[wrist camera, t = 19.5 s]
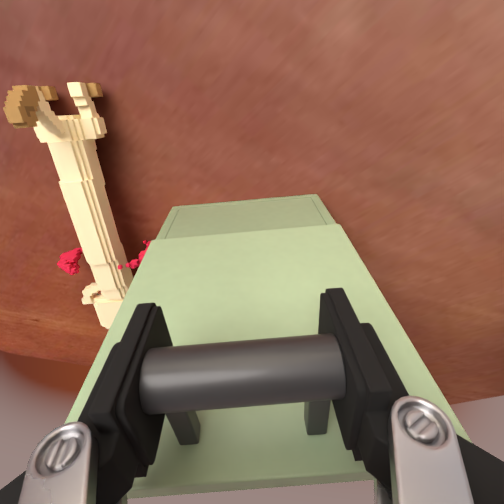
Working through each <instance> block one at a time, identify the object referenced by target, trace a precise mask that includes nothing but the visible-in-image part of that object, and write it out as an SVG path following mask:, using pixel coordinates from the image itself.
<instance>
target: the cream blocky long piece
mask: <svg viewBox="0 0 504 504" xmlns="http://www.w3.org/2000/svg"><path fill="white" fill-rule="evenodd" d="M67 85H68V89H69V92H70V95H71V98H73V99H74V102H75V105H76V106H78V109H79V112H80V115H63V116H55V113H54V111H51V108H50V105H49V102H46V101H53V100H59V99H58V96H57V92H56V89H55V87H52V86H41V87H39V86H30V85H21V86H12V88H13V90H14V91H7V92H8V95H9V96H6V98H7V102H5V105H6V107H3V109H4V112H5V114H6V117H7V119H8V122H9V123H13V126H14V128H26V127H34V130H35V132H36V135H37V138H39V140H40V142H47V143H48V146H49V149H50V152H51V155H52V158H53V160H54V163H55V166H56V169H57V172H58V175H59V178H60V182H59V184H60V187H61V190H62V193H63V196H64V199H65V201H66V204H67V207H68V210H69V213H70V216H71V219H72V221H73V224H74V227H75V230H76V233H77V236H78V238H79V241H80V244H81V248H75V249H73V250H72V251H68V252H64V253H63V254H62V255H61V256H59V257H60V259H61V260H60V261H59V262H58V263H57V265H58V266H59V267H61V269H62V270H65V271H66V273H69V274H70V275H74V274H75V273H78V272H79V268H80V266H79V265H78V264H77V263H78V260H79V259H80V257H81V255H80V254H82V252H83V253H84V255H85V258H86V261H87V263H89V264H90V267H91V270H92V272H93V275H94V278H95V281H96V283H91V284H90V285H89V286H86V287H85V288H84V290H83V291H82V293H83V296H84V297H83V298H82V299H81V300H82V303H83V304H94V307H95V310H96V312H97V315H98V318H99V321H100V323H101V325H102V326H103V327H106V329H110V327H111V325H112V323H113V321H114V318H115V316H116V314H117V312H118V310H119V308H120V306H121V304H122V302H123V300H124V297H125V295H126V293H127V291H128V289H129V287H130V285H131V283H132V281H133V275H132V272H131V268H135V267H139V266H140V264H141V262H142V259H143V257H144V255H145V253H146V251H147V249H148V247H149V245H150V243H151V241H148V242H147V240H144V241H143V244H146V243H147V244H146V247H147V248H146V249H145V251H141V252H140V254H139V259H135V260H132V261H131V262H130V263H128V262H127V259H126V255H125V252H124V248H123V245H122V243H120V239H119V236H118V232H117V229H116V225H115V222H114V218H113V215H112V211H111V208H110V204H109V201H108V197H107V194H106V190H105V187H104V185H106V184H105V181H104V177H103V174H102V170H101V167H100V163H99V160H98V156H97V153H96V149H97V147H96V143H95V139H98V138H103V137H105V136H104V134H105V133H107V130H106V126H105V122H104V119H103V117H101V118H100V117H99V114H97V112H96V109H95V105H94V101H92V100H91V98H98V97H103V94H102V90H101V86H100V84H98V83H81V82H74V83H67ZM130 266H131V268H129V267H130ZM99 290H101V293H102V294H98V293H97V292H98V291H99Z"/></svg>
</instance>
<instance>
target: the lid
mask: <svg viewBox="0 0 504 504" xmlns="http://www.w3.org/2000/svg"><path fill="white" fill-rule="evenodd" d="M341 287H342V288H343V289H344V291H345V293H346V295H347V297H348V299H349V301H350V303H351V305H352V307H353V310H354V312H355V314H356V316H357V318H358V320H359V322H360V323H370V324H371V325H372V326H373V328H374V330H375V332H376V333H377V335H378V337H379V339H380V341H381V343H382V345H383V347H384V349H385V350H386V352H387V354H388V356H389V358H390V360H391V362H392V364H393V366H394V367H395V369H396V371H397V373H398V375H399V377H400V379H401V381H402V382H403V384H404V386H405V388H406V390H407V392H408V394H409V396H418V397H421V398H424V399H427V400H429V401H430V402H432V403H434V404H435V405H437V406H438V407H439V408H440V409H441V410H443V411H444V412H445V413H446V415H447V416H448V417H449V419H450V420H451V422H452V424H453V426H454V429H455V432H456V434H457V435H459V436H461V437H463V438H464V439H466V440H468V441H469V442H471V440H470V439H469V437H468V435H467V434H466V432H465V430H464V429H463V427H462V425H461V424H460V422H459V420H458V419H457V417H456V415H455V414H454V412H453V410H452V409H451V407H450V405H449V404H448V402H447V400H446V399H445V397H444V396H443V394H442V392H441V391H440V389H439V387H438V386H437V384H436V382H435V381H434V379H433V377H432V376H431V374H430V372H429V371H428V369H427V367H426V366H425V364H424V362H423V361H422V359H421V357H420V356H419V354H418V353H417V351H416V349H415V348H414V346H413V344H412V343H411V341H410V339H409V338H408V336H407V334H406V333H405V331H404V329H403V328H402V326H401V324H400V323H399V321H398V319H397V318H396V316H395V314H394V313H393V311H392V310H391V308H390V306H389V305H388V303H387V301H386V300H385V298H384V296H383V295H382V293H381V291H380V290H379V288H378V286H377V285H376V283H375V281H374V280H373V278H372V276H371V275H370V273H369V271H368V270H367V268H366V267H365V265H364V263H363V262H362V260H361V258H360V257H359V255H358V253H357V252H356V250H355V248H354V247H353V245H352V243H351V242H350V240H349V238H348V237H347V235H346V233H345V232H344V230H343V228H342V227H341V225H340V224H331V225H319V226H308V227H297V228H285V229H274V230H262V231H251V232H240V233H228V234H217V235H205V236H194V237H183V238H171V239H160V240H152V241H151V243H150V245H149V247H148V249H147V251H146V253H145V255H144V257H143V259H142V262H141V264H140V266H139V268H138V270H137V272H136V274H135V276H134V278H133V281H132V283H131V285H130V287H129V289H128V291H127V293H126V295H125V297H124V300H123V302H122V304H121V306H120V308H119V310H118V312H117V314H116V316H115V318H114V321H113V323H112V325H111V327H110V329H109V331H108V333H107V335H106V337H105V340H104V342H103V344H102V346H101V348H100V350H99V352H98V354H97V356H96V359H95V361H94V363H93V365H92V367H91V369H90V371H89V373H88V375H87V378H86V380H85V382H84V384H83V386H82V388H81V390H80V392H79V394H78V397H77V399H76V401H75V403H74V405H73V407H72V409H71V411H70V413H69V415H68V418H67V420H66V422H65V424H66V423H70V422H77V421H78V418H79V416H80V414H81V412H82V410H83V408H84V406H85V404H86V402H87V399H88V397H89V395H90V393H91V391H92V389H93V387H94V385H95V383H96V380H97V378H98V376H99V374H100V372H101V370H102V368H103V366H104V364H105V361H106V359H107V357H108V355H109V353H110V351H111V349H112V347H113V346H114V344H116V343H118V342H120V341H121V339H122V336H123V334H124V332H125V330H126V328H127V325H128V323H129V321H130V319H131V317H132V314H133V312H134V310H135V308H136V306H137V304H141V303H155V304H156V306H161V308H162V311H163V314H164V317H165V321H166V324H167V327H168V330H169V334H170V337H171V340H172V343H173V346H169V347H157V348H151V349H149V350H148V351H147V353H146V354H145V356H144V359H143V361H142V365H141V370H140V376H139V398H140V403H141V407H142V409H143V411H144V412H145V413H146V414H148V415H152V414H164V413H165V418H164V423H163V427H162V432H161V436H160V441H159V446H158V450H157V455H156V459H155V462H154V464H153V465H149V467H148V471H147V476H146V477H139V478H134V482H133V486H132V488H131V489H130V490H129V491H128V492H127V499H129V498H143V497H155V496H167V495H182V494H195V493H207V492H221V491H234V490H247V489H259V488H273V487H286V486H299V485H312V484H324V483H338V482H351V481H364V480H374V476H372V475H371V474H370V473H369V472H367V471H366V469H365V466H364V463H363V461H355V459H354V456H353V453H352V450H346V448H345V445H344V442H343V439H342V435H341V432H340V428H339V424H338V421H337V417H336V414H335V410H334V407H333V403H332V400H338V399H343V398H344V397H345V395H346V373H345V366H344V360H343V356H342V352H341V349H340V346H339V343H338V341H337V339H336V337H335V335H334V334H332V333H326V334H318V325H319V309H320V294H321V293H325V291H326V289H328V288H341ZM471 443H472V442H471Z"/></svg>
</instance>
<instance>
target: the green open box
mask: <svg viewBox="0 0 504 504" xmlns="http://www.w3.org/2000/svg"><path fill="white" fill-rule="evenodd" d="M331 224H336V222H335V221H334V219H333V218H332V216H331V215H330V213H329V212H328V210H327V209H326V207H325V206H324V204H323V203H322V201H321V199H320V198H319V197H318V195H317V194H310V195H299V196H287V197H276V198H265V199H254V200H242V201H231V202H220V203H209V204H198V205H186V206H175V207H172V209H171V211H170V213H169V215H168V217H167V218H166V220H165V222H164V224H163V226H162V228H161V230H160V232H159V234H158V236H157V238H156V239H155V240H160V239H171V238H183V237H194V236H205V235H217V234H228V233H240V232H251V231H262V230H274V229H285V228H297V227H308V226H319V225H331Z"/></svg>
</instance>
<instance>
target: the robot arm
mask: <svg viewBox="0 0 504 504" xmlns="http://www.w3.org/2000/svg"><path fill="white" fill-rule="evenodd" d="M326 333H332V334H334V335H335V337H336V339H337V341H338V343H339V346H340V349H341V352H342V356H343V360H344V366H345V373H346V395H345V397H344V398H343V399H338V400H332V403H333V407H334V410H335V414H336V417H337V421H338V424H339V428H340V432H341V435H342V439H343V442H344V445H345V448H346V450H352V453H353V456H354V459H355V461H363V463H364V466H365V469H366V471H367V472H369V473H370V474H371V475H372V476H374V500H375V501H374V502H375V504H504V462H503V461H501V460H500V459H498V458H496V457H494V456H493V455H491V454H489V453H488V452H486V451H484V450H483V449H481V448H479V447H478V446H476V445H474V444H473V443H471V442H469V441H468V440H466V439H464V438H463V437H461V436H459V435H457V434H456V432H455V429H454V426H453V424H452V422H451V420H450V419H449V417H448V416H447V415H446V413H445V412H444V411H443V410H441V409H440V408H439V407H438V406H437V405H435V404H434V403H432V402H430V401H429V400H427V399H424V398H421V397H418V396H409V394H408V392H407V390H406V388H405V386H404V384H403V382H402V381H401V379H400V377H399V375H398V373H397V371H396V369H395V367H394V366H393V364H392V362H391V360H390V358H389V356H388V354H387V352H386V350H385V349H384V347H383V345H382V343H381V341H380V339H379V337H378V335H377V333H376V332H375V330H374V328H373V326H372V325H371V324H370V323H360V322H359V320H358V318H357V316H356V314H355V312H354V310H353V307H352V305H351V303H350V301H349V299H348V297H347V295H346V293H345V291H344V289H343V288H342V287H341V288H328V289H326V291H325V293H321V294H320V309H319V325H318V334H326ZM169 346H173V343H172V340H171V337H170V334H169V330H168V327H167V324H166V321H165V317H164V314H163V311H162V308H161V306H156V304H155V303H141V304H137V306H136V308H135V310H134V312H133V314H132V317H131V319H130V321H129V323H128V325H127V328H126V330H125V332H124V334H123V336H122V339H121V341H120V342H118V343H116V344H114V346H113V347H112V349H111V351H110V353H109V355H108V357H107V359H106V361H105V364H104V366H103V368H102V370H101V372H100V374H99V376H98V378H97V380H96V383H95V385H94V387H93V389H92V391H91V393H90V395H89V397H88V399H87V402H86V404H85V406H84V408H83V410H82V412H81V414H80V416H79V418H78V421H77V422H70V423H66V424H63V425H61V426H59V427H57V428H55V429H54V430H53V431H51V432H50V433H49V434H47V435H46V436H45V437H44V438H43V439H42V440H41V441H40V442H39V443H38V445H37V446H36V448H35V449H34V451H33V452H32V454H31V457H30V459H29V462H28V465H27V470H26V471H25V472H23V473H22V474H21V475H19V476H18V477H17V478H15V479H14V480H13V481H12V482H10V483H9V484H8V485H6V486H5V487H4V488H2V489H1V490H0V504H127V492H128V491H129V490H130V489H131V488H132V486H133V482H134V478H139V477H146V476H147V471H148V467H149V465H153V464H154V462H155V459H156V455H157V450H158V446H159V441H160V436H161V432H162V427H163V423H164V418H165V413H164V414H152V415H148V414H146V413H145V412H144V411H143V409H142V407H141V403H140V398H139V376H140V370H141V365H142V361H143V359H144V356H145V354H146V353H147V351H148V350H149V349H151V348H157V347H169Z"/></svg>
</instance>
